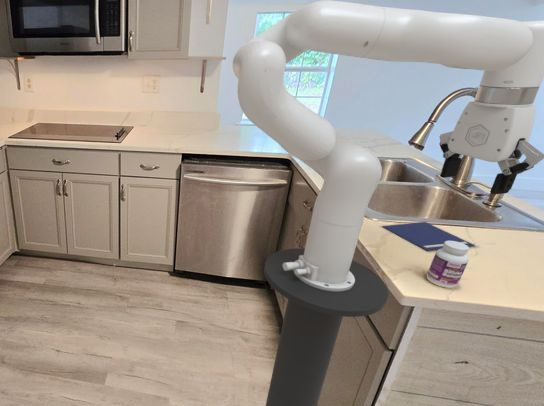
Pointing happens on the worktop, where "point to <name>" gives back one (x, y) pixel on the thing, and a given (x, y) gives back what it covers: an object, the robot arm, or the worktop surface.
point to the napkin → (424, 235)
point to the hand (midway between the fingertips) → (471, 184)
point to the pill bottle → (448, 264)
